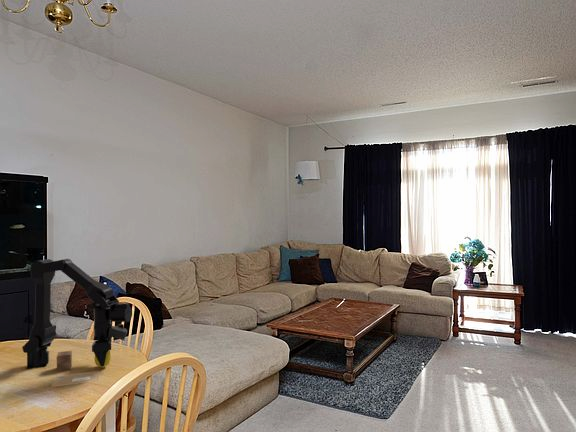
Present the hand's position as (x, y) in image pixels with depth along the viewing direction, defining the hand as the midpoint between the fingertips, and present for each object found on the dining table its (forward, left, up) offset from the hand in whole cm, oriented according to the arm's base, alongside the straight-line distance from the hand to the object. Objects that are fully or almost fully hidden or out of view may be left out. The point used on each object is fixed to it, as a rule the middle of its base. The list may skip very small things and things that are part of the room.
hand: (102, 363), depth 159 cm
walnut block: (-13, +4, -2) cm, 14 cm away
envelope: (-8, -8, -2) cm, 11 cm away
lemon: (0, 0, -2) cm, 2 cm away
